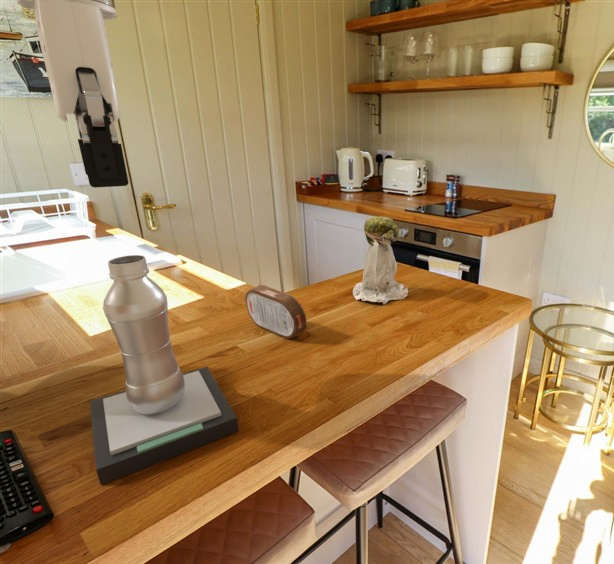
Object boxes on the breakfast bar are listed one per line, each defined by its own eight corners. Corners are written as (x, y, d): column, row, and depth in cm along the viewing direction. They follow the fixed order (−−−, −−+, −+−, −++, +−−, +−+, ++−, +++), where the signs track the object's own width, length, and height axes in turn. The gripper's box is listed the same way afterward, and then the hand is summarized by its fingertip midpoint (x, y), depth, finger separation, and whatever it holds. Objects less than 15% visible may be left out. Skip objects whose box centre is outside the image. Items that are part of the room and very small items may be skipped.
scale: (100, 485, 47) (94, 465, 46) (93, 414, 58) (88, 397, 57) (239, 431, 55) (236, 413, 54) (209, 378, 66) (206, 363, 65)
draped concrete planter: (342, 292, 100) (339, 216, 94) (385, 280, 108) (385, 209, 102) (371, 308, 92) (370, 226, 85) (416, 294, 100) (417, 217, 93)
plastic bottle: (198, 400, 56) (171, 257, 49) (147, 428, 51) (109, 273, 44) (170, 384, 60) (142, 248, 53) (120, 410, 54) (80, 262, 47)
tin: (309, 339, 79) (306, 297, 76) (296, 346, 76) (292, 303, 73) (258, 318, 87) (254, 279, 84) (245, 323, 84) (240, 284, 81)
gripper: (20, 3, 44) (62, 173, 50) (1, -43, 31) (62, 194, 37) (107, 15, 48) (136, 171, 54) (123, -21, 35) (159, 188, 41)
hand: (106, 180), depth 45 cm, fingers open, 9 cm apart
